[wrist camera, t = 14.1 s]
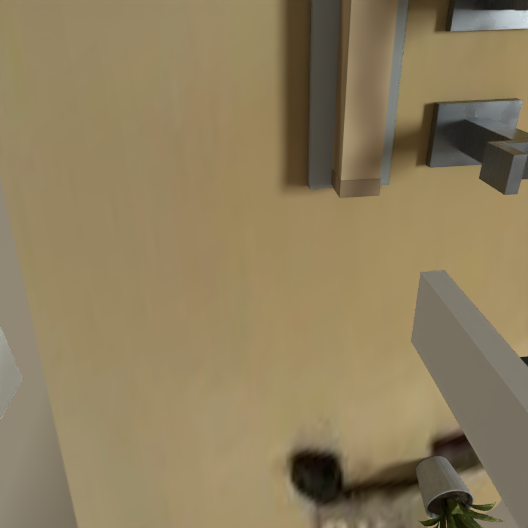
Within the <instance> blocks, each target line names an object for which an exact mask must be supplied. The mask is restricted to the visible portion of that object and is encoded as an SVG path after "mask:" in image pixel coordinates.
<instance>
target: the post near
mask: <svg viewBox="0 0 528 528" xmlns="http://www.w3.org/2000/svg"><path fill="white" fill-rule="evenodd" d="M524 28H528V0H450V4H449V11H448V18H447V25H446V31H474V30H499V29H524Z"/></svg>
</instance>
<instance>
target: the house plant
mask: <svg viewBox="0 0 528 528" xmlns="http://www.w3.org/2000/svg"><path fill="white" fill-rule="evenodd" d="M416 474H417V478H418V482H419V486H420V490H421V495H422V499H423V503H424V507H425V511H426V513H427V515H428V516H429V517H431V518H433V519H430V520H427V521H419V520H418V521H419V522H421V523H422V524H423V525H424V526H433V525H435V524H436V523H438V522H439V521H440V528H446V520H447V528H482V527H481V526H480V525H479V524H478V523H477V522H476V521H474V519H473V518H475V519H480V520H485V521H491V522H503V521H502V520H500V519H495V518H492V517H490V516H488V515H485V514H481V513H477V512H474V511H472V510H470V508H471V507H472V508H474V509H478V510H482V511H488V510H490V509H492V508H493V506H494V505H495V503H496V502H495V503H494V504H487V505H473V503H474V497H473V495H472V493H471V492H470V491H469V489H468V488H467V486H466V485H465V484H464V482H463V481H462V480H461V478H460V477H459V475H458V474H457V473H456V471H455V470H454V469H453V467H452V466H451V464H450V463H449V462H448V460H447V459H446V458H444V457H440V456H433V457H430V458H427V459H425V460H423V461H421V462H420V463H419V464H418V465H417V467H416ZM472 517H473V518H472ZM438 525H439V523H438ZM438 525H437V526H436V527H434V528H438Z"/></svg>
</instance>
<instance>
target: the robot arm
mask: <svg viewBox="0 0 528 528" xmlns="http://www.w3.org/2000/svg"><path fill="white" fill-rule="evenodd" d="M411 342H412V343H413V345H414V347H415V348H416V350H417V352H418V354H419V355H420V357H421V359H422V361H423V362H424V364H425V366H426V368H427V369H428V371H429V373H430V374H431V376H432V378H433V380H434V381H435V383H436V385H437V387H438V388H439V390H440V392H441V394H442V395H443V397H444V399H445V401H446V402H447V404H448V406H449V407H450V409H451V411H452V413H453V414H454V416H455V418H456V420H457V421H458V423H459V425H460V427H461V428H462V430H463V432H464V433H465V435H466V437H467V439H468V440H469V442H470V444H471V446H472V447H473V449H474V451H475V453H476V454H477V456H478V458H479V459H480V461H481V463H482V465H483V466H484V468H485V470H486V472H487V473H488V475H489V477H490V479H491V480H492V482H493V484H494V486H495V487H496V489H497V491H498V492H499V494H500V496H501V498H502V499H503V501H504V503H505V505H506V506H507V508H508V510H509V512H510V513H511V515H512V517H513V518H514V520H515V522H516V524H517V525H518V527H519V528H528V356H527V357H519V356H518V355H517V354H516V352H515V351H514V350H513V349H512V348H511V347H510V346H509V344H508V343H507V342H506V341H505V340H504V339H503V337H502V336H501V335H500V334H499V333H498V332H497V330H496V329H495V328H494V327H493V326H492V325H491V323H490V322H489V321H488V320H487V319H486V318H485V317H484V315H483V314H482V313H481V312H480V311H479V310H478V308H477V307H476V306H475V305H474V304H473V303H472V301H471V300H470V299H469V298H468V297H467V296H466V295H465V293H464V292H463V291H462V290H461V289H460V288H459V286H458V285H457V284H456V283H455V282H454V281H453V279H452V278H451V277H450V276H449V275H448V274H447V272H446V271H445V270H440V271H429V272H421V273H420V281H419V288H418V295H417V302H416V309H415V317H414V324H413V331H412V338H411ZM22 379H23V378H22V376H21V373H20V371H19V369H18V366H17V364H16V362H15V359H14V357H13V355H12V352H11V350H10V348H9V345H8V343H7V341H6V338H5V336H4V334H3V331H2V329H1V327H0V420H1V418H2V417H3V415H4V413H5V411H6V409H7V407H8V405H9V404H10V402H11V400H12V398H13V396H14V394H15V392H16V391H17V389H18V387H19V385H20V383H21V381H22Z"/></svg>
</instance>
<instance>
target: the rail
mask: <svg viewBox="0 0 528 528" xmlns="http://www.w3.org/2000/svg"><path fill="white" fill-rule="evenodd" d="M397 7H398V0H340V19H339V40H338V61H337V82H336V103H335V125H334V146H333V167H332V177H331V185H332V187H333V188H334V190H335V191H336V193H337V194H338V196H339V197H340V198H345V197H362V196H379V193H380V183H381V178H380V174H381V164H382V154H383V144H384V135H385V125H386V115H387V105H388V95H389V86H390V76H391V66H392V56H393V46H394V36H395V27H396V17H397Z"/></svg>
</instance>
